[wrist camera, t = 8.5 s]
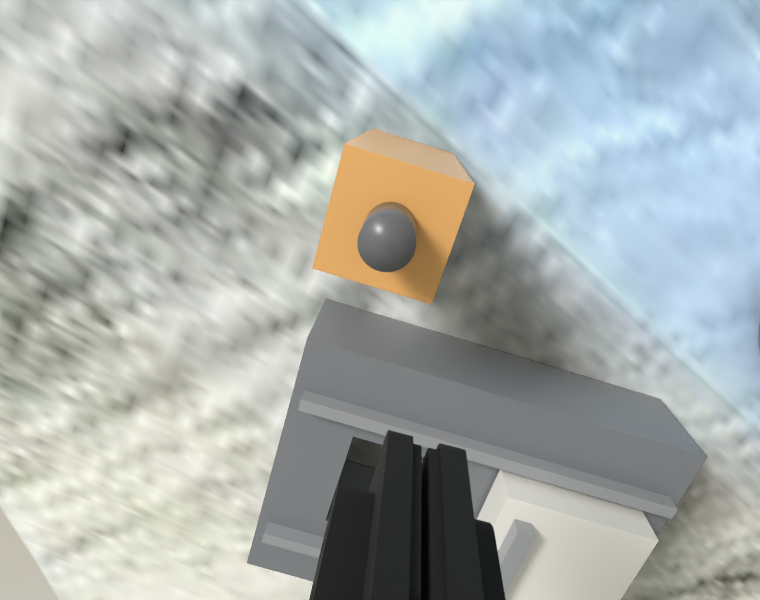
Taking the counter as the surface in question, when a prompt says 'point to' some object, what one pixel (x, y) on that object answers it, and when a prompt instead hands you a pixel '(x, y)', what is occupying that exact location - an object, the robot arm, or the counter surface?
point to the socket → (456, 428)
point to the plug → (393, 214)
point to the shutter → (564, 541)
